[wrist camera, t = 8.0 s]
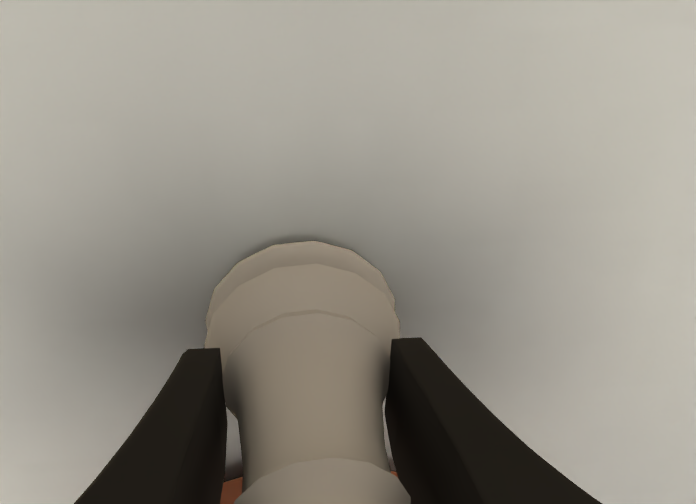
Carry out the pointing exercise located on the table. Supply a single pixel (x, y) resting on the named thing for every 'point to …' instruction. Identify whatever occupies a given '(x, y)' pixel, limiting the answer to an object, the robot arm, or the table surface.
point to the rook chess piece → (307, 374)
